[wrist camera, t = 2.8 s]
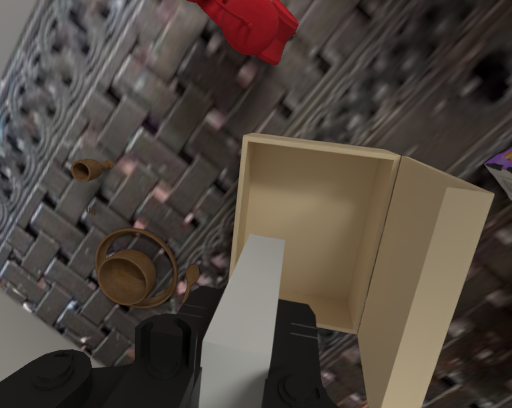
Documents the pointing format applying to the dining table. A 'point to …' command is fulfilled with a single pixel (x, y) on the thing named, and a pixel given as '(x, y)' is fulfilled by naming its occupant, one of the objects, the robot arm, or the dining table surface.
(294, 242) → the box
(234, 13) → the alarm clock
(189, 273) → the place setting
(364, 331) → the lid
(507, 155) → the candy box
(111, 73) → the dining table surface
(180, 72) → the dining table surface
